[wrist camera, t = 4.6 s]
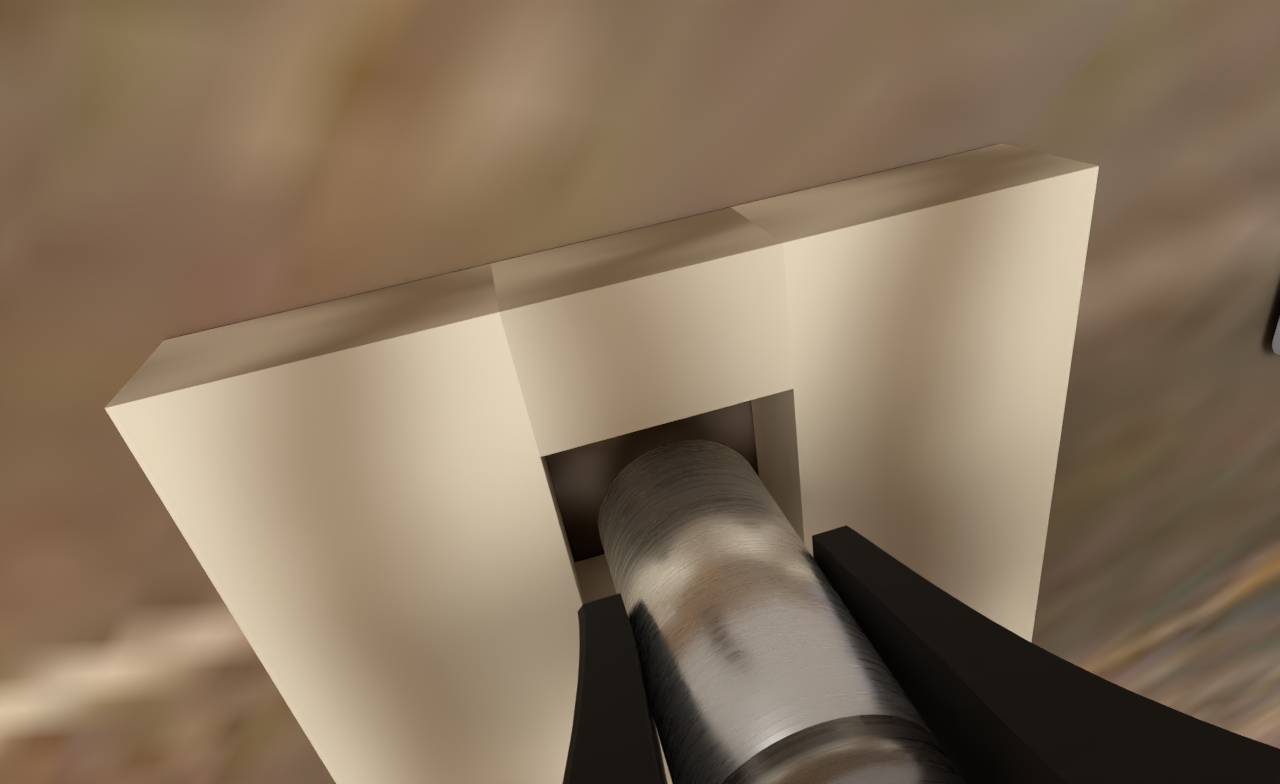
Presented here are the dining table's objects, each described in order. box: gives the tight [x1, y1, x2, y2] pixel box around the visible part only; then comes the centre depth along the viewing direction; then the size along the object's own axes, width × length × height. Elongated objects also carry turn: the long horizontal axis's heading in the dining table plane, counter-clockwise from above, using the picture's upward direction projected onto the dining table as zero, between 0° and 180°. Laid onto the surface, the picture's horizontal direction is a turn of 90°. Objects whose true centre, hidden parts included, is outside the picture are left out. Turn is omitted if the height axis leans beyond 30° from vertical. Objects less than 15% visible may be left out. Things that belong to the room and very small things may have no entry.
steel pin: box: [598, 440, 966, 784], centre depth 11 cm, size 3×3×7 cm
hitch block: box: [105, 144, 1099, 784], centre depth 16 cm, size 16×14×2 cm
